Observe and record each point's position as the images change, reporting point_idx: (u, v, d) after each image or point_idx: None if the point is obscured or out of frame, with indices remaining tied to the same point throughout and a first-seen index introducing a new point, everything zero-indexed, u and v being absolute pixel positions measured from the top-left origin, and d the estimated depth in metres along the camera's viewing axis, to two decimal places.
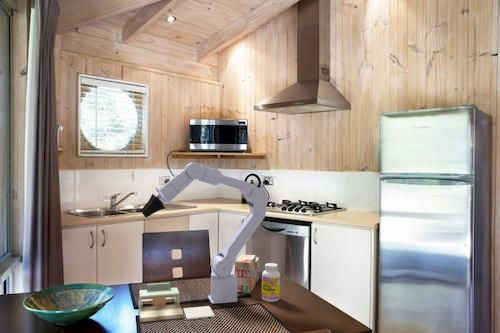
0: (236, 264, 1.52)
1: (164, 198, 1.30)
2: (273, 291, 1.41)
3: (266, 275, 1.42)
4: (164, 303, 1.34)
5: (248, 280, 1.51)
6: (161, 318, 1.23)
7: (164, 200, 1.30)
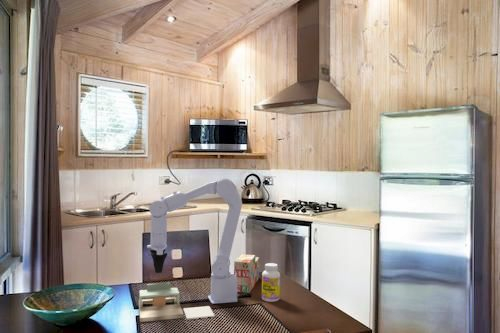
0: (235, 264, 1.52)
1: (159, 250, 1.36)
2: (273, 291, 1.41)
3: (266, 275, 1.42)
4: (164, 303, 1.34)
5: (247, 280, 1.51)
6: (161, 318, 1.23)
7: (160, 252, 1.36)
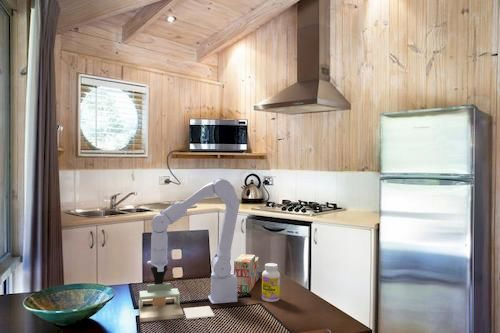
0: (235, 264, 1.53)
1: (160, 267, 1.32)
2: (273, 291, 1.41)
3: (266, 275, 1.42)
4: (164, 303, 1.34)
5: (247, 280, 1.52)
6: (161, 318, 1.23)
7: (161, 268, 1.32)
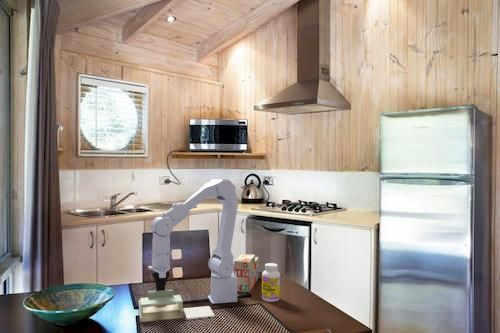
0: (235, 263, 1.53)
1: (161, 273, 1.25)
2: (273, 291, 1.41)
3: (266, 275, 1.42)
4: None
5: (247, 279, 1.52)
6: (161, 318, 1.23)
7: (163, 274, 1.25)
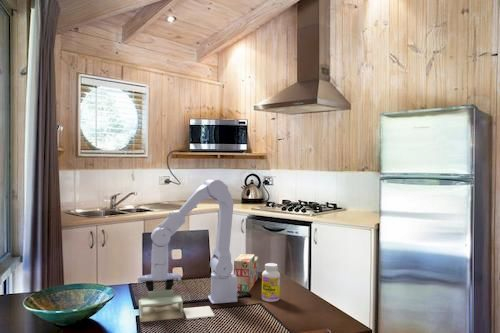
0: (235, 263, 1.53)
1: None
2: (273, 291, 1.41)
3: (266, 275, 1.42)
4: None
5: (247, 279, 1.52)
6: (161, 318, 1.23)
7: None
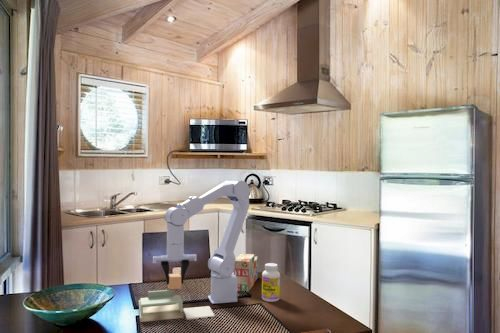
0: (235, 263, 1.53)
1: (153, 258, 1.31)
2: (273, 291, 1.41)
3: (266, 275, 1.42)
4: (180, 283, 1.32)
5: (247, 279, 1.52)
6: (161, 318, 1.23)
7: (153, 260, 1.31)
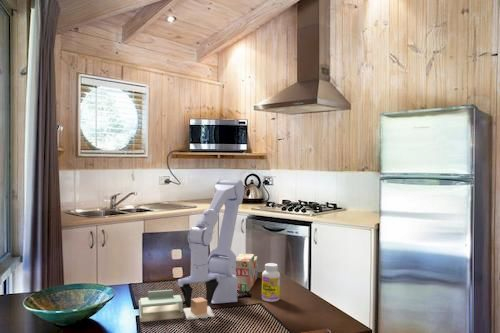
0: None
1: (178, 281, 1.25)
2: (273, 291, 1.41)
3: (266, 275, 1.42)
4: (206, 307, 1.29)
5: (247, 279, 1.53)
6: (161, 318, 1.23)
7: (179, 283, 1.25)
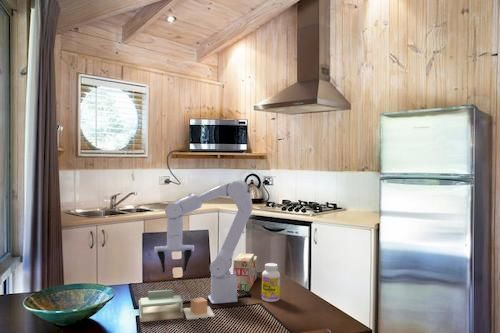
0: (235, 263, 1.54)
1: (154, 248, 1.44)
2: (273, 291, 1.41)
3: (266, 275, 1.42)
4: (206, 307, 1.29)
5: (246, 278, 1.53)
6: (161, 318, 1.23)
7: (154, 250, 1.43)
